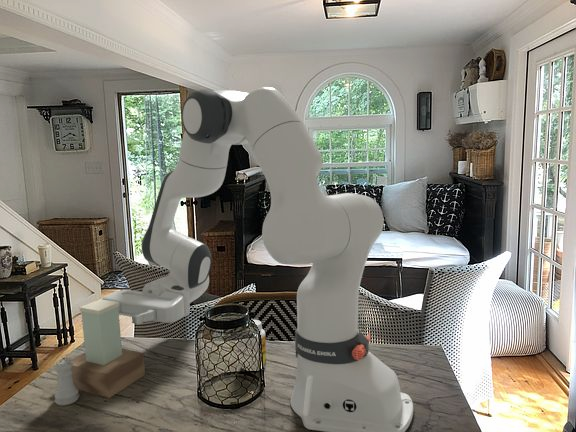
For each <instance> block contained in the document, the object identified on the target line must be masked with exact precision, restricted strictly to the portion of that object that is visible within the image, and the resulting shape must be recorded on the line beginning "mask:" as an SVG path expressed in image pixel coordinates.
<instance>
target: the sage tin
mask: <svg viewBox="0 0 576 432" xmlns="http://www.w3.org/2000/svg"><path fill="white" fill-rule="evenodd" d="M118 306H120V305H119V302H115V301H109V300H102V298H100V299H96V300H94V301H92V302H89V303H86V304H84V305H82V306H79V307H78V308H79V312H81V314H80V315H81V321H82V322H81V323H82V333H83V334H82V335H83V343H84V353H85V355H86V361H88V362H93V363H97V364H101V365H105V364H107V363H109V362H111V361H113V360H114V359H116V358H118V357H120V356H121V355H122V348H123V347H122V336H121V335H122V334H121V324H120V315H119V310H118Z"/></svg>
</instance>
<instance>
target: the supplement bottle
mask: <svg viewBox="0 0 576 432" xmlns="http://www.w3.org/2000/svg"><path fill="white" fill-rule="evenodd" d="M252 320H253V321H254V322H255V324H256V325H257V327H258V329H259V331H260V335H261V344H262V352H263V365H264V369H265V368H266V366H267V351H266V350H267V347H266V342H267V341H266V332H265V330H264V329H263V326H262V322H261V321H260V320H259V319H252Z"/></svg>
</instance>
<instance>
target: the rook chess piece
mask: <svg viewBox="0 0 576 432" xmlns="http://www.w3.org/2000/svg"><path fill="white" fill-rule="evenodd" d="M70 360H71V359H70V358H64V360H63V359H59V361H56V362H55V366H54V370H55V371H56V372H57V374H56V377H57V380H58V382H57V388H56V392H55V393H54V403H56V404H57V405H58V406H61V407H62V406H69V405H72V404H74V403H75V402H77V400H78V399H79V398H80V393H79V391H80V390H79V389H78V388H77V387H76V385H74V383H73V379H72V373H73V372H72V371H71V368H72V366H73V364H72V363H71V361H70Z"/></svg>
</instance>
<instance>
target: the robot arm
mask: <svg viewBox="0 0 576 432" xmlns="http://www.w3.org/2000/svg"><path fill="white" fill-rule="evenodd" d="M181 123H182V126H183V129H184V132H183V135H182V139H181V143H180V150H179V154H178V161H177V164H176V166H175V168H174V169H173V170H171V171H170V170H169V172H168V173H167V174H166V175H165V176H164V177H163V180H162V183H161V185H160V188H159V191H158V195H157V197H156V201H155V203H154V208H153V212H152V214H151V217H150V221H149V225H148V227H147V229H146V231H145V233H144V236H143V238H142V240H141V253H142V255H143V257H144V259H145V260H146V261H147V262H149V263H152V264H155V265H157V266H161V267H162V268H163V269H167V270H169V273H168V275H166V276H162V277H159V278H157V279H155V280H152V281H150V282H148V283H146V284H145V285H144V286H143V288H142V290H141V291H140V290H139V291H138V290H131V289H124V290H123V289H122V290H120V291H116V292H112V293H109V294H106V295H104V296H103V297H102V298H101V299H102V300H109V301H115V302H119V305H120V306H118V310H119V316H124V317H125V316H126V317H130V318H131V320H132V321H131V323H132V324H134V325H141V324H143V323H148V322H153V321H154V322H158V323H164V324H170V323H174V322H177V321H179V320H181V319H182V318H184V317H185V318H186V317H188V316H189V315H190V310H191V308H190V306H191V305H190V304H191V303H192V302H194V301H196V300H197V299H198V298H199V297H201V296H202V295H203V294H204V293H205V292H206V291H207V289H208V287H209V284H210V276H209V275H210V273H211V269H212V264H213V260H212V253H211V251H210V248H209V246H208V245H207V244H205V243H203V242H201V241H199V240H197V239H195V238H193V237H189V236H188V235H186V234H184V233H181V232H180V231H179V232H178V231H177V230H176V229H175V227H174V226H173V224H174V223H173V222H174V219H175V217H176V213H177V210H178V206H179V204H180V201H181V199H188V198H190V199H192V198H202V197H207V196H209V195H212V194H214V193H215V192H217V191H218V190H219V189H220V188H221V186H222V185H223V183H224V180H225V177H226V172H227V167H228V161H229V155H230V154H229V152H230V149H231V147H232V145H233V146H234V145H235V146H238V145H239V146H240V145H249V147H250V149H251V151H252V153H253V155H254V157H255V159H256V161H257V163H258V165H259V167H260V169H261V171H262V173H263V175H264V178H265V181H266V183H267V186H268V188H269V189H268V190H269V192H270V193H269V194H270V208H269V211H268V212H267V214H266V216H265V218H264V220H263V224H262V229H261V231H262V232H261V235H262V241H263V245H264V248H265V250H266V251H267V253H268V255H270V257H271V258H272V259H273V260H274V261H276V262H277V263H278V264H281V265H294V266H296V265H297V266H299V265H300V266H301V265H310V264H311V267H310V268H309V269H310V270H309V271H308V273H307V275H306V276H305V278H304V279H303V280H302V281H301V283H300V284H299V286H298V289H297V292H296V313H297V314H296V317H297V318H296V319H297V323H296V324H297V328H296V329H295V334H294V338H295V339H294V340H295V341H294V348H295V349H294V350H295V357H296V370H295V373H296V374H295V379H294V386H293V391H292V392H291V393H292V394H291V397H290V406H291V408H292V410H293V412H294V413H296V414H297V416H299V417H300V419H301V420H302V421H301V422H302V423H303V426H304V427H305V428H306V429H307V430H310V431H311V430H312V431H318V432H319V431H320V432H406V431H407V429H408V428H409V427H410V424H411V423H412V420H413V418H414V403H413V400H412V398H411V397H410V395H409V394H407V393H405V392H402V391H401V387H400V382H399V378H398V376H397V374H396V373H395V371H394V370H393V369H391V368H390V367H389V366H388V365H387V364H385V363H384V362H383V361H381V360H380V359H379V358H377V357H376V356H375V355H374V354H373V353H372V352H370V351H369V349H370V347H369V342H370V341H371V333H368V334H367V335H366V336H365V335H364V334H363V333H362V331H360V329H359V324H358V323H359V294H360V293H359V292H360V286H361V281H362V278H363V273H364V271H365V266H366V263H367V261H368V257H369V255H370V252H371V249H372V247H373V246H374V244H375V243H376V241H377V240H378V238H379V237H380V236H381V234H382V232H383V229H384V222H385V221H384V213H383V211H382V208H381V206H380V205H379V203H377V201H376V200H375V199H373V198H372V197H370V196H367V195H364V194H360V193H353V192H352V193H351V192H344V193H343V192H342V193H338V194H330V195H325V194H324V193H323V191H321V188H320V186H319V182H318V178H317V177H318V176H319V174H320V172H321V171H322V167H323V163H324V162H323V156H322V153H321V152H320V150H319V148H318V147H317V144H315V141H314V140H313V137H312V136H311V134H310V132H309V131H308V129H307V127H306V125H305V124H304V121H303V120H302V118H301V117H300V116H299V114H298V113H297V111H296V109H295V108H294V107H293V106H292V104H291V103H290V102H289V101H288V99H287V98H286V97H285V96H284V95H283V94H282V92H280V91H279V90H278V89H276V88H274V87H270V86H262V87H258V88H255V89H253V90H251V91H250V92H244V91H238V90H230V89H216V90H214V89H213V90H212V89H207V88H206V89H199V90H196V91H193V92H191V93H190V94H189V95H188V96H187V97H186V98H185V101H184V102H183V104H182V108H181Z"/></svg>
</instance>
